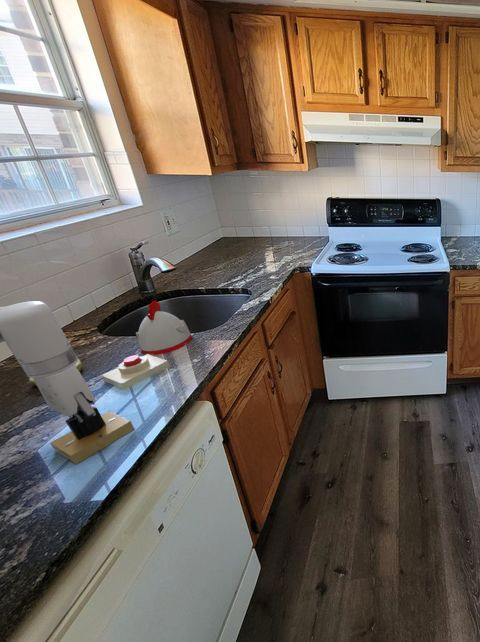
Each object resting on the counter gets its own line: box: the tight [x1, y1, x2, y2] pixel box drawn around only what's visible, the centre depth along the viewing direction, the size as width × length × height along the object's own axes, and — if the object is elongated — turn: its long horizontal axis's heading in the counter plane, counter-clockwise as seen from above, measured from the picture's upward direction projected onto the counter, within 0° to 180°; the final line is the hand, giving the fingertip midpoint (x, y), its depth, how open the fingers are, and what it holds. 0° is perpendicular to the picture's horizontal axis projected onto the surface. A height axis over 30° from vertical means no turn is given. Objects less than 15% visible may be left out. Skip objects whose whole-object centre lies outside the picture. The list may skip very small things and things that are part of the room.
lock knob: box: [65, 405, 106, 440], centre depth 81 cm, size 5×1×5 cm, turn 156°
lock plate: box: [49, 410, 135, 465], centre depth 82 cm, size 11×9×3 cm
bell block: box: [101, 354, 171, 391], centre depth 105 cm, size 12×10×4 cm
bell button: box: [122, 354, 141, 367], centre depth 104 cm, size 4×4×2 cm
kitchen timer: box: [135, 300, 193, 356], centre depth 118 cm, size 14×14×15 cm
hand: (90, 429), depth 82 cm, fingers closed
